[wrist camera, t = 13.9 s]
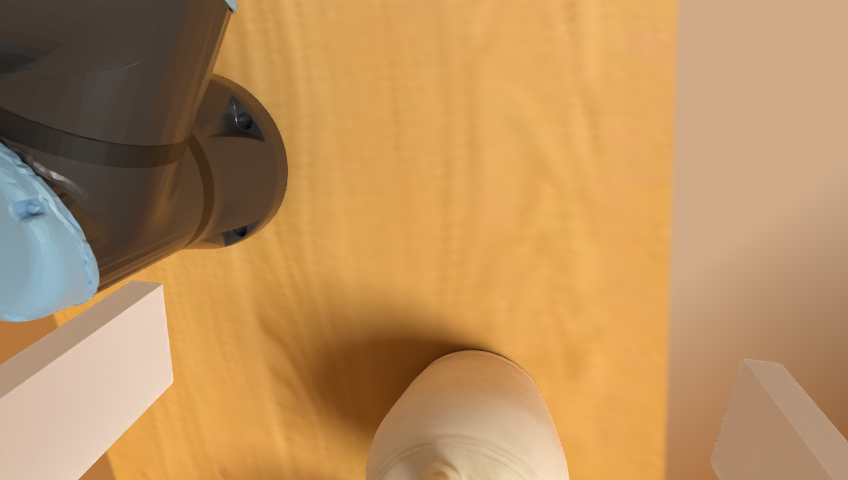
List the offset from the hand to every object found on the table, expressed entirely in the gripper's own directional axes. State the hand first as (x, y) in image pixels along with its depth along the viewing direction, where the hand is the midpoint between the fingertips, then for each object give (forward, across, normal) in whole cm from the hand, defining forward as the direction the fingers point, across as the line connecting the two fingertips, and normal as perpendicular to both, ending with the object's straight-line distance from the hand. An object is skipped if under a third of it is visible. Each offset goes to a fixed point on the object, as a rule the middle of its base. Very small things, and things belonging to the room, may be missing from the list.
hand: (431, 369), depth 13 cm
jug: (+32, +2, -25) cm, 41 cm away
